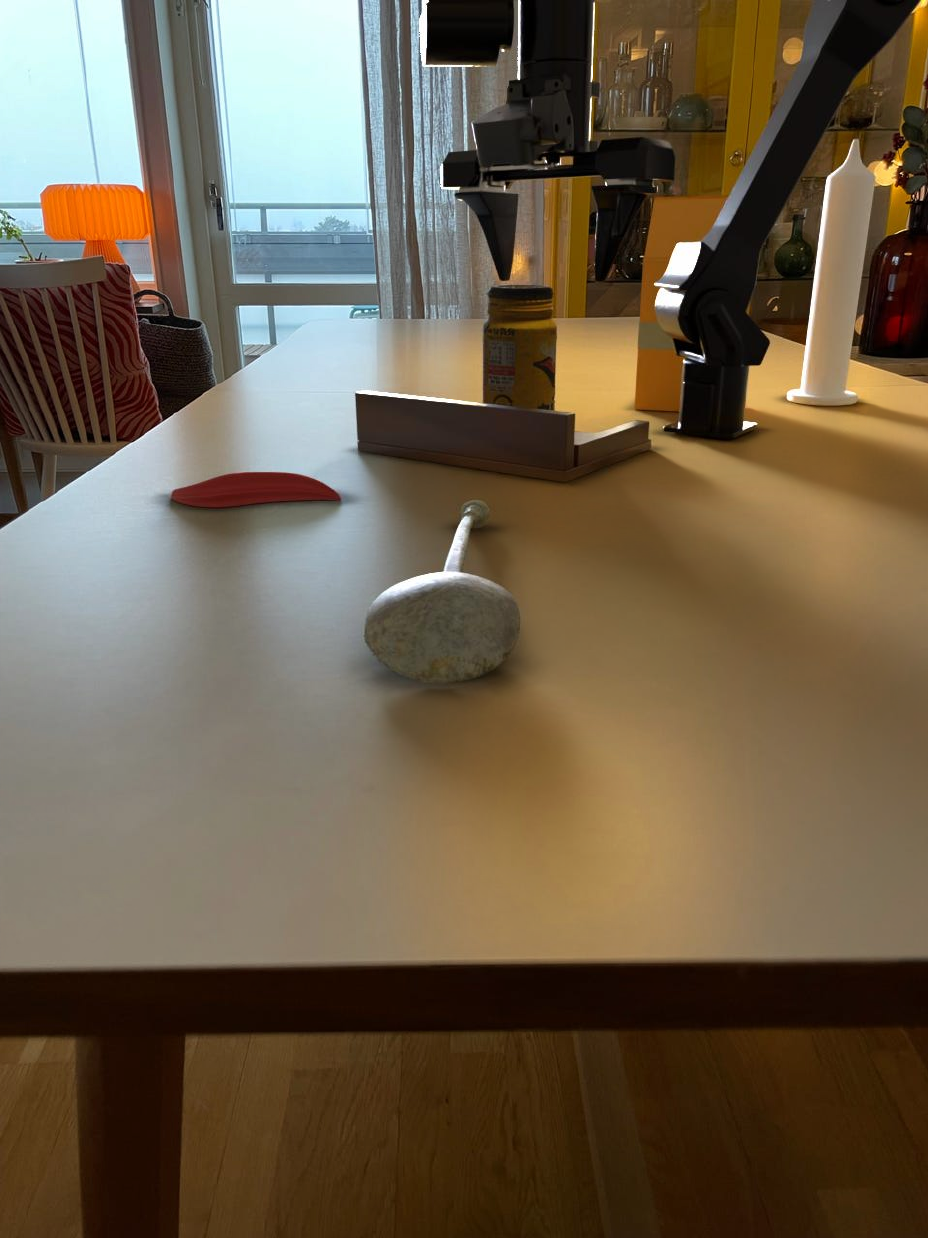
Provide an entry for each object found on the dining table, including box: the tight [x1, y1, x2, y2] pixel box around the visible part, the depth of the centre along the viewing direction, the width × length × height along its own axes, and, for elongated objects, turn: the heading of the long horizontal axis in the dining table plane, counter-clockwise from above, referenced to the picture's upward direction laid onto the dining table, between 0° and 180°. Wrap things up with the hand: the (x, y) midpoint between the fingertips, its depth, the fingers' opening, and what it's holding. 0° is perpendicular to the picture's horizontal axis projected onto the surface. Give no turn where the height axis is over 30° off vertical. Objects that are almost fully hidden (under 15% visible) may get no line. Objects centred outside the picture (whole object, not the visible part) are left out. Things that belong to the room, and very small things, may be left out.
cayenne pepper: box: [170, 471, 342, 508], centre depth 63 cm, size 12×5×2 cm, turn 78°
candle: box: [786, 138, 876, 407], centre depth 95 cm, size 7×7×25 cm
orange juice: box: [633, 194, 730, 412], centre depth 94 cm, size 8×9×20 cm
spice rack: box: [354, 390, 652, 483], centre depth 77 cm, size 14×20×5 cm
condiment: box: [482, 284, 558, 411], centre depth 76 cm, size 7×8×12 cm
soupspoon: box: [363, 499, 521, 684], centre depth 46 cm, size 22×3×7 cm
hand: (550, 281), depth 78 cm, fingers open, 9 cm apart
